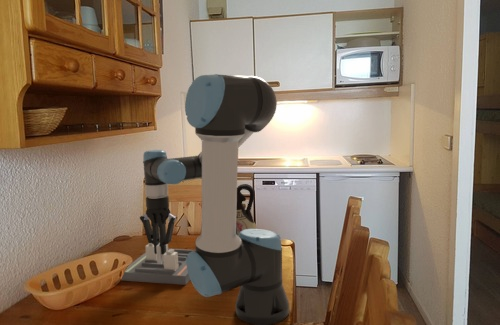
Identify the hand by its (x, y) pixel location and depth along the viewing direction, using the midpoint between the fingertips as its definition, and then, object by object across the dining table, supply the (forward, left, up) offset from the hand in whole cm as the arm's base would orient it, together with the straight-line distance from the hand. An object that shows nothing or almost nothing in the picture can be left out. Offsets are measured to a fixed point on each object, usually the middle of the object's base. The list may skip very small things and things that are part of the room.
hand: (160, 262), depth 127 cm
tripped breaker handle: (0, -4, -2) cm, 4 cm away
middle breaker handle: (+7, +7, -2) cm, 10 cm away
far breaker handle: (+14, +7, -2) cm, 16 cm away
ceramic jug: (+19, -24, -6) cm, 32 cm away
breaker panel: (+7, +2, -6) cm, 9 cm away
